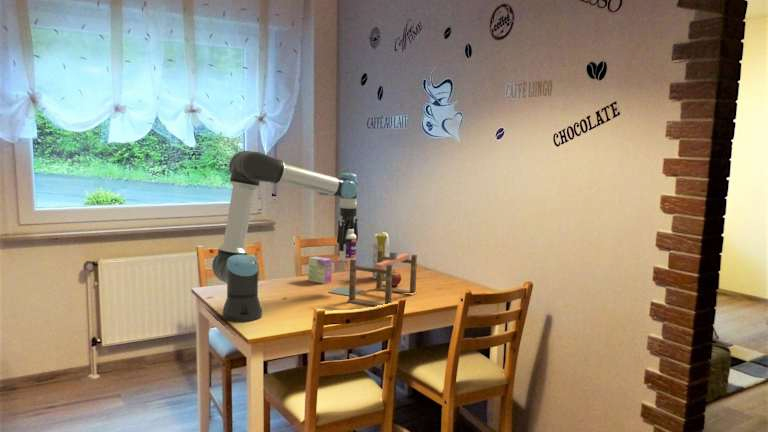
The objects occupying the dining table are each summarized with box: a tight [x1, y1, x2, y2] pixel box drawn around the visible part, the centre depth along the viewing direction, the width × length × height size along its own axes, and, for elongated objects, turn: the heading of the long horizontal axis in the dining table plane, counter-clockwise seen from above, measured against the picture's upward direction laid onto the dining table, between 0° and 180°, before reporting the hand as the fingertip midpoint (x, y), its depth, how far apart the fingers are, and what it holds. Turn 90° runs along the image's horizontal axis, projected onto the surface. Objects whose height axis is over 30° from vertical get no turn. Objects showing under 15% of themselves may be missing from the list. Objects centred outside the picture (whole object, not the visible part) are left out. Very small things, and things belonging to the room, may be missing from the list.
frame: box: [347, 250, 418, 307], centre depth 260 cm, size 30×20×18 cm, turn 154°
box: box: [307, 255, 333, 285], centre depth 287 cm, size 10×6×12 cm, turn 58°
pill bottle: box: [338, 229, 357, 262], centre depth 267 cm, size 8×8×14 cm
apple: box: [384, 270, 402, 287], centre depth 284 cm, size 8×8×8 cm
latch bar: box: [375, 251, 411, 270], centre depth 257 cm, size 29×3×5 cm, turn 154°
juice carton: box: [372, 231, 390, 281], centre depth 297 cm, size 9×8×24 cm
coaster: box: [328, 286, 365, 297], centre depth 270 cm, size 12×12×1 cm
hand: (347, 256), depth 268 cm, fingers closed on pill bottle, 8 cm apart
